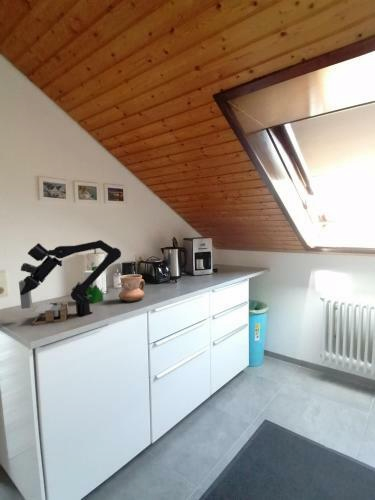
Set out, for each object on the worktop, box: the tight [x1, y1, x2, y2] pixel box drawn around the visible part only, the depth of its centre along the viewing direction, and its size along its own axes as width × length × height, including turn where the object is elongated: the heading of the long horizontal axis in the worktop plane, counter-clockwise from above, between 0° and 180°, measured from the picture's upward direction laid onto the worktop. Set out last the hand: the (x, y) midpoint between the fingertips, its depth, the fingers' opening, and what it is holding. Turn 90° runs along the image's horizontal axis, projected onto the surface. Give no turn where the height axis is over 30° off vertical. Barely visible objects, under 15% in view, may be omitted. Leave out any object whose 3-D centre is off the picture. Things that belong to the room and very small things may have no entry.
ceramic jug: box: [117, 273, 146, 302], centre depth 166 cm, size 18×14×14 cm
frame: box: [32, 301, 70, 326], centre depth 137 cm, size 16×14×6 cm
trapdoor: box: [34, 303, 62, 317], centre depth 136 cm, size 12×10×3 cm
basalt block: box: [18, 279, 33, 310], centre depth 133 cm, size 4×5×12 cm
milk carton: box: [82, 265, 104, 304], centre depth 166 cm, size 9×9×20 cm
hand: (22, 293), depth 132 cm, fingers closed on basalt block, 5 cm apart
